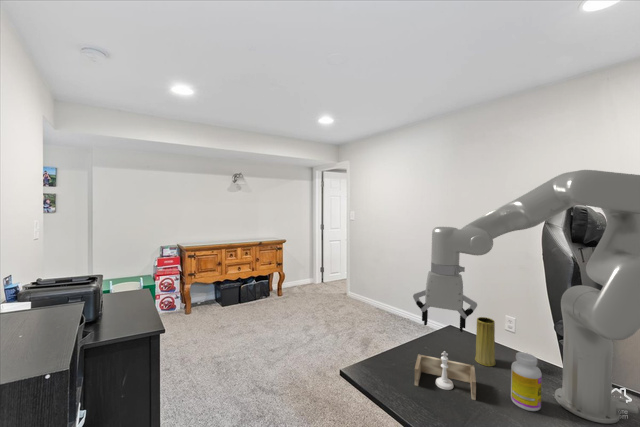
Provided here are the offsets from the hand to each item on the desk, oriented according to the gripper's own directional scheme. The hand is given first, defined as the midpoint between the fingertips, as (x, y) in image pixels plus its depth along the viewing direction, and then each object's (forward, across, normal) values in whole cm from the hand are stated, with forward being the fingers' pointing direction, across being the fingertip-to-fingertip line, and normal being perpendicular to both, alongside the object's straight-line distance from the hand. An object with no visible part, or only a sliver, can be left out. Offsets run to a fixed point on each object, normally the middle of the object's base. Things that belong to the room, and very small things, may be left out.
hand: (443, 326), depth 86 cm
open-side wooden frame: (+17, -1, 0) cm, 17 cm away
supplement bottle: (+17, -21, 0) cm, 27 cm away
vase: (+17, -13, -19) cm, 29 cm away
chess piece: (+18, -1, 0) cm, 18 cm away
